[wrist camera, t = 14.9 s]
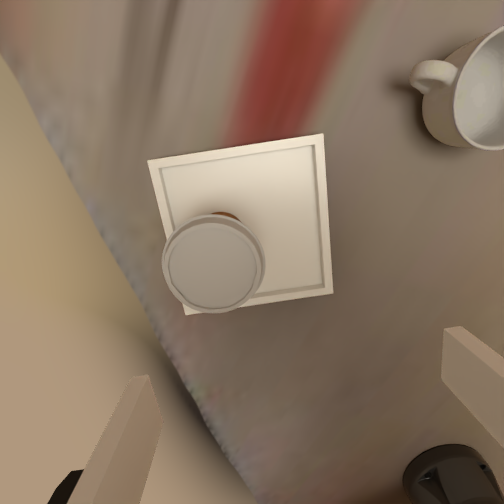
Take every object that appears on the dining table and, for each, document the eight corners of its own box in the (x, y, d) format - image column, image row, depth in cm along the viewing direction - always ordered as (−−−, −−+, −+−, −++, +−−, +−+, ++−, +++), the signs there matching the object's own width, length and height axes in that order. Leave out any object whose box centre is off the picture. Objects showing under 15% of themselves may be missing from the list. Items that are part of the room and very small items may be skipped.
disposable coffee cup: (177, 202, 35) (147, 223, 24) (255, 194, 35) (262, 211, 24) (190, 274, 38) (168, 323, 27) (261, 267, 38) (270, 312, 27)
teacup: (517, 76, 33) (599, 52, 26) (462, 166, 36) (521, 168, 29) (418, 18, 31) (475, -27, 24) (368, 118, 34) (405, 106, 27)
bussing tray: (327, 285, 41) (333, 293, 38) (188, 306, 41) (185, 315, 39) (317, 135, 35) (323, 133, 32) (153, 160, 35) (147, 160, 32)
